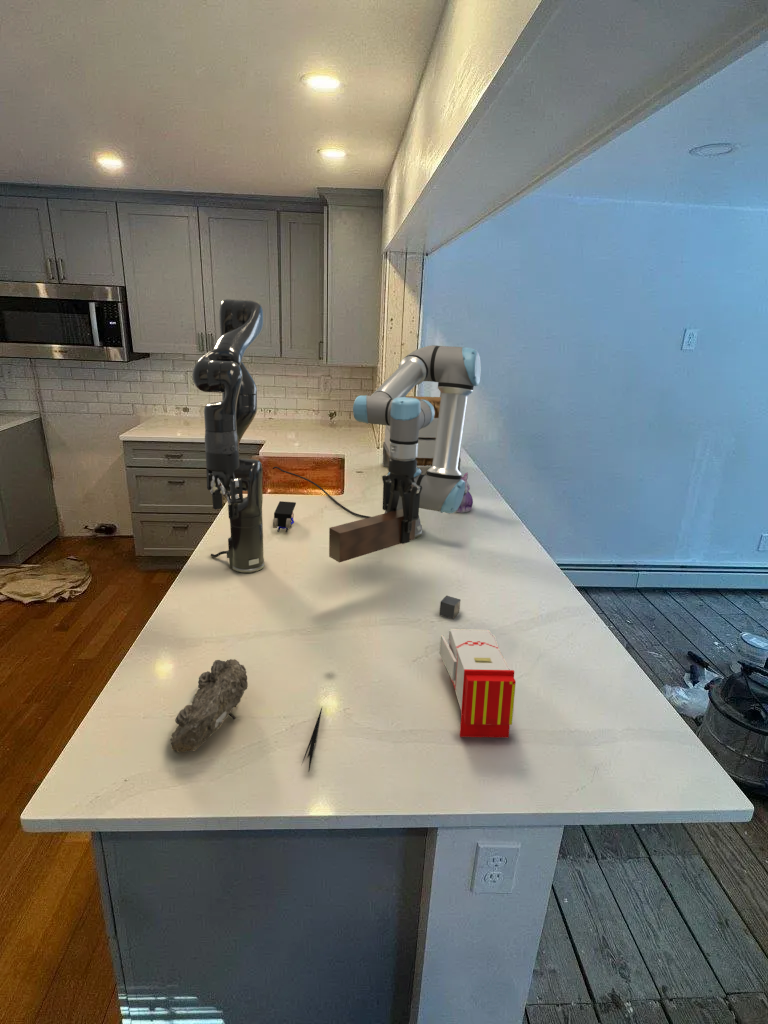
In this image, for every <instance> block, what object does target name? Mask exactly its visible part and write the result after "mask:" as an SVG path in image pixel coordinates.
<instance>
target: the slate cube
mask: <svg viewBox="0 0 768 1024" xmlns="http://www.w3.org/2000/svg"><path fill="white" fill-rule="evenodd" d="M460 610H461V599H460V598H457V597H454V596H450V595H445V597H444V598H442V599H441V600H440V602H439V616H441V617H444V618H448V619H451V620H454V619H455V618H456V617H457V616H458V615H459V614H460Z"/></svg>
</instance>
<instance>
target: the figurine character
mask: <svg viewBox="0 0 768 1024" xmlns="http://www.w3.org/2000/svg"><path fill="white" fill-rule="evenodd" d="M296 505H297V502H296V501H295V502H294V501H283V500H282V501H279V502H278V504H277V506H276V508H275V510H274V513H273V519H272V528H273V529H277V530H276V532H277V533H280V531H281V530H285V532H284V533H288V531H289V529H291V528H292V525H293V524H294V523H295V519H294V517H295V514H294V510H295V507H296Z"/></svg>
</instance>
